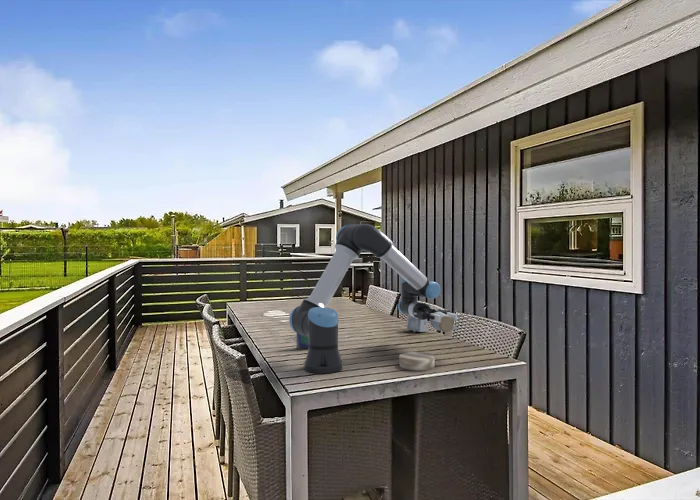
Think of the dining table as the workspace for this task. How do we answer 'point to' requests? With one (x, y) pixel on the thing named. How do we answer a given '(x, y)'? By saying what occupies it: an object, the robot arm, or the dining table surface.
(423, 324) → the incense holder
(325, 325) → the robot arm
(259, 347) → the dining table surface
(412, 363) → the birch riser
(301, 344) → the flask
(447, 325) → the ceramic mug
